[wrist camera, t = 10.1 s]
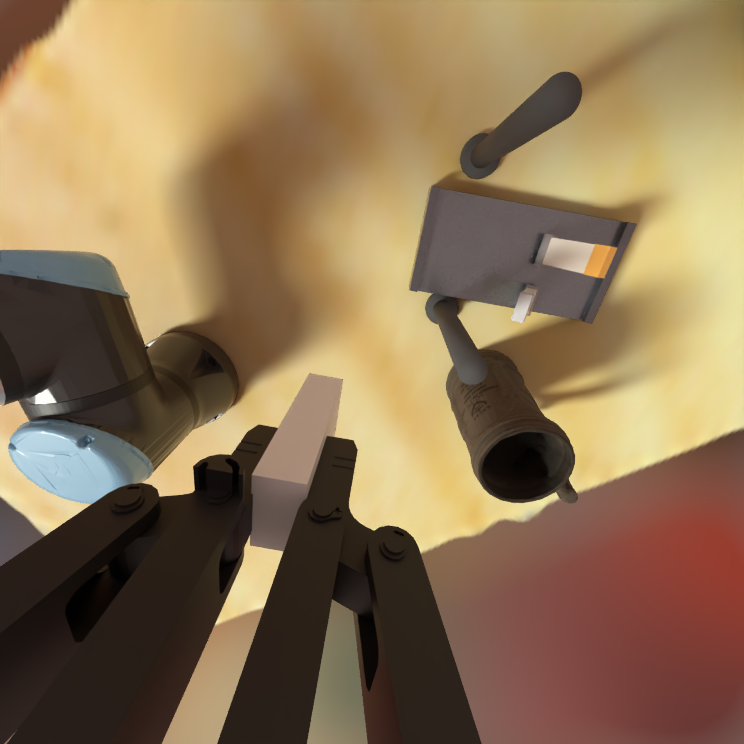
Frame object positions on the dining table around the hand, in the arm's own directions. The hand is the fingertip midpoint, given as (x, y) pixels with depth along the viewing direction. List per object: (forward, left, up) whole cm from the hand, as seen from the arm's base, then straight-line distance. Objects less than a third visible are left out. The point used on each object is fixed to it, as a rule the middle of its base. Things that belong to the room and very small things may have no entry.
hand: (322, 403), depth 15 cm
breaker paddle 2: (+20, +8, -31) cm, 38 cm away
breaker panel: (+17, +6, -34) cm, 39 cm away
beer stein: (+21, -13, -35) cm, 43 cm away
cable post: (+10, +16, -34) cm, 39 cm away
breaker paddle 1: (+20, +2, -31) cm, 37 cm away
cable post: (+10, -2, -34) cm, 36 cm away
